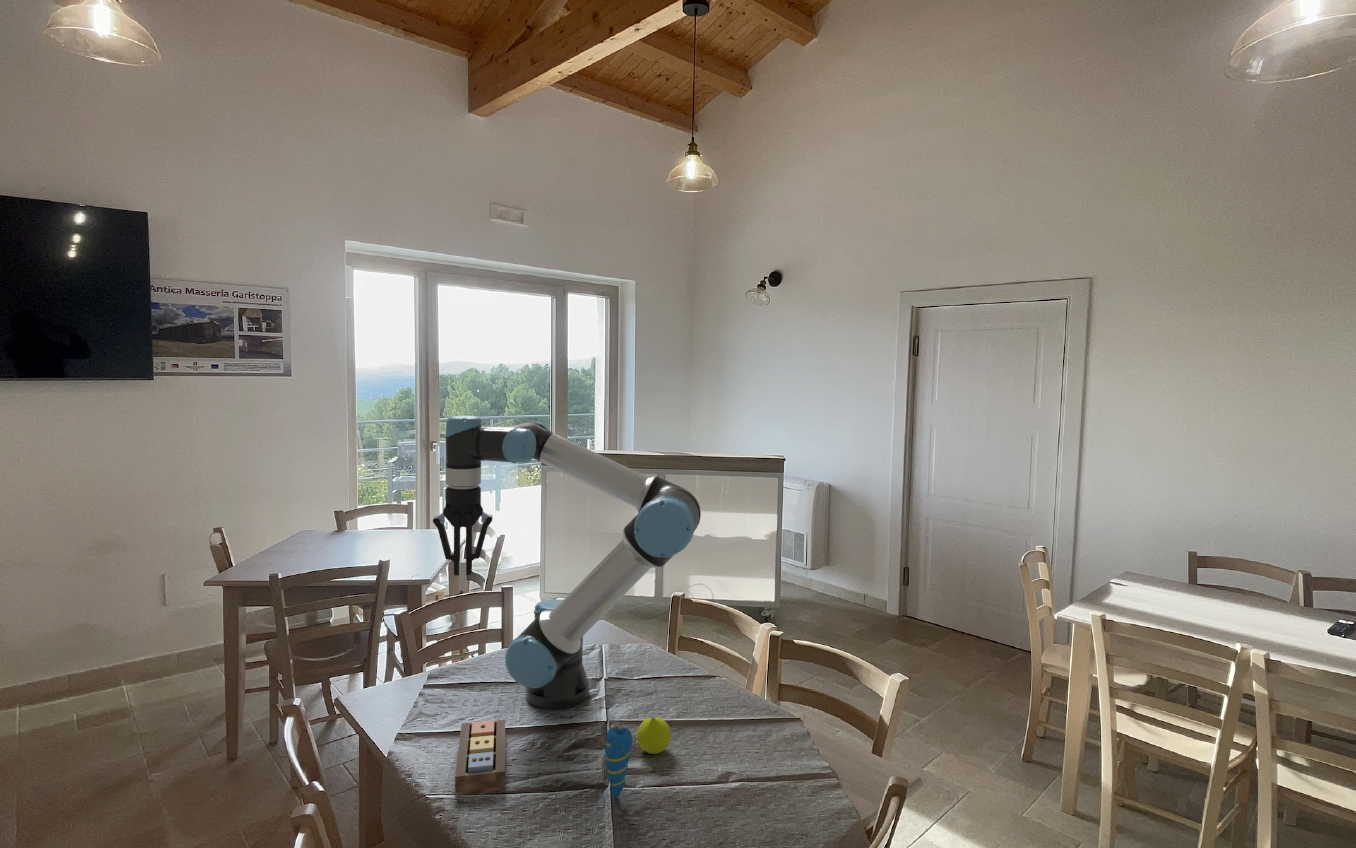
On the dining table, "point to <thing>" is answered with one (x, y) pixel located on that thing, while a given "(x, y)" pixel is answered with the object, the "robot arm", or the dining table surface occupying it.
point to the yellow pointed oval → (654, 735)
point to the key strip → (484, 779)
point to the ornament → (618, 757)
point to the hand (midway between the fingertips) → (462, 588)
